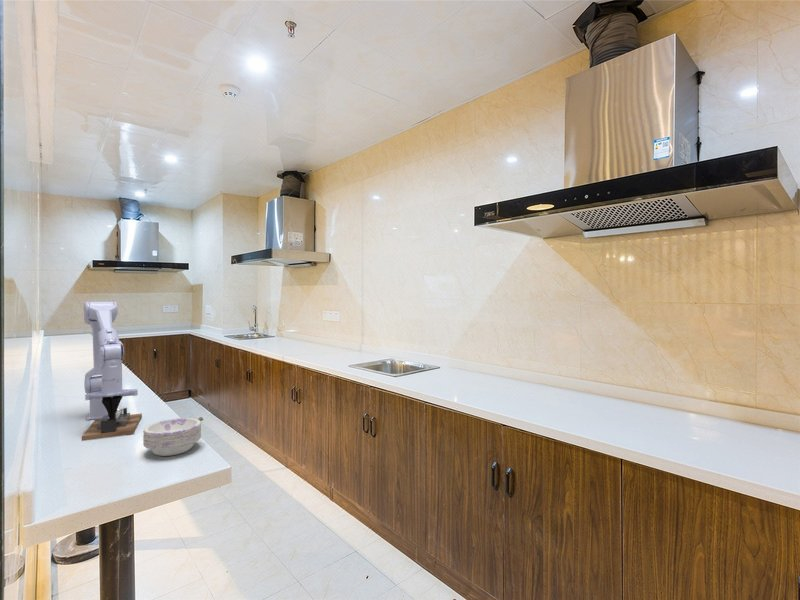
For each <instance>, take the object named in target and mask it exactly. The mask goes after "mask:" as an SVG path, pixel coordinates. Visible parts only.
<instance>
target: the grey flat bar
mask: <svg viewBox="0 0 800 600" xmlns="http://www.w3.org/2000/svg"><path fill="white" fill-rule="evenodd" d="M121 414H123V408H117V412H116V417H115V418H117V420H118V419H119V417H120V416H121ZM107 419H109V417H108V418H107Z"/></svg>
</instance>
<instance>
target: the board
mask: <svg viewBox="0 0 800 600" xmlns="http://www.w3.org/2000/svg"><path fill="white" fill-rule="evenodd" d="M142 418H143V413H135V414H130V420H129V421H128V423H127V425H126V426H125V427H118V428H117V430H116V432H109V433H101V430H97V423H98V422H99V421H100V419H101V418H97V419H94V421H93V422H92V423H91V424H90V425H89V427H87V429H86V431H85V432H84V433H82V435H81V442H84V441H92V440H99V439H100V440H101V439H108V438H116V437H122V436H123V437H124V436H130V435H134V434H135V432H136V430H137V428H138V426H139V423H140V422H141V420H142Z"/></svg>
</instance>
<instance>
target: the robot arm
mask: <svg viewBox="0 0 800 600" xmlns="http://www.w3.org/2000/svg"><path fill="white" fill-rule="evenodd" d="M118 309H119V307H118V303H117V302H116V300H115V301H114V300H112V301H85V302H84V303H83V317H84V319H83V320H84V323H85V324H87V325H90V327H91V330H92V352H93V353H92V355H93V368H92V369H89V371H87V372H86V373H85V375H84V381H83V382H84V393H85V394H84V398H85V399H84V401H89V415H88V417H87V418H85V419H86V421H89V420H90V421H91V420H96V419H97V418H102V417H103V416H105V415H109V419H112V418H115V417H116V412H117V409H119V406H120V403H121V401H122V398H124V397H130V396H131V397H132V396H134V397H136V396H138V394H139V393H138V388H134V389H133V388H131V389H123V360H124V357H125V347H124V344H123V343H122V341H120V338H119V334H118V330H116V329H115V328H113V323H114V322H115V320H116V319H117V316H118V314H119V313H118V311H119V310H118Z"/></svg>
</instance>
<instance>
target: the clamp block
mask: <svg viewBox="0 0 800 600" xmlns="http://www.w3.org/2000/svg"><path fill="white" fill-rule="evenodd" d="M122 409H123V412H122V414H121V416H120V417H119V419H118V420H117V418H112V419H107V418H108V417H109V415H105V416H103V417H102V418H101V419H100V421H99V422H98V423H97V430H101V433H109V432H116V430H117V428H118V427H125V426H126V425H127V423H128V421H129V420H130V415H131V413H130V412H128V407H123V408H122Z"/></svg>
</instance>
